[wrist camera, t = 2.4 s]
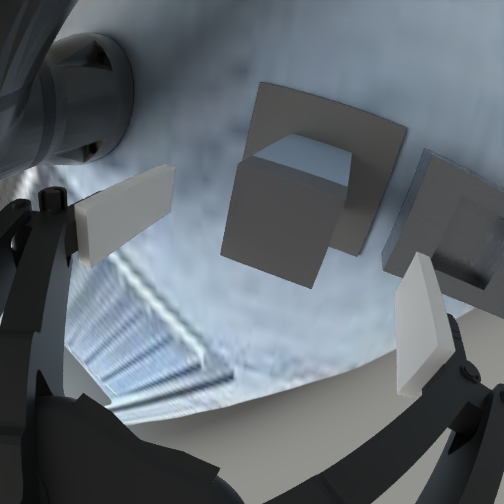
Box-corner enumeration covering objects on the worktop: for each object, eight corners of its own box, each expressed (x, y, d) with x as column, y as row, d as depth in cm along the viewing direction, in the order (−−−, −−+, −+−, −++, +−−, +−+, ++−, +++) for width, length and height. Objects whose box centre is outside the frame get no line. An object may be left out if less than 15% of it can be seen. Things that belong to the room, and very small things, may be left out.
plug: (277, 188, 26) (220, 255, 16) (291, 133, 24) (238, 163, 14) (333, 208, 26) (311, 289, 16) (351, 152, 23) (345, 199, 13)
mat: (233, 210, 29) (231, 212, 29) (261, 82, 23) (260, 81, 23) (357, 254, 27) (357, 256, 27) (405, 127, 21) (406, 127, 21)
